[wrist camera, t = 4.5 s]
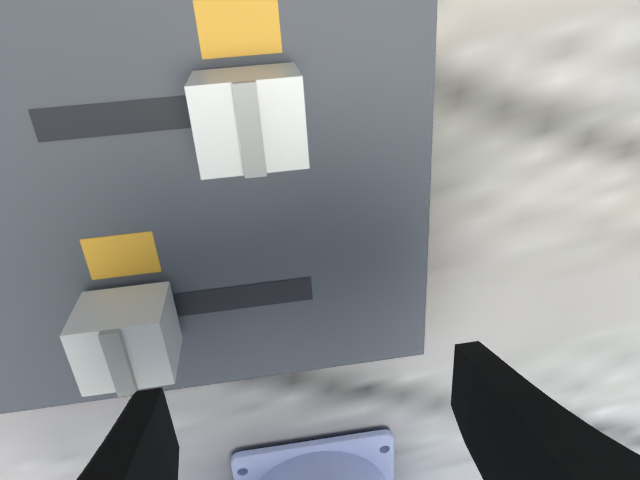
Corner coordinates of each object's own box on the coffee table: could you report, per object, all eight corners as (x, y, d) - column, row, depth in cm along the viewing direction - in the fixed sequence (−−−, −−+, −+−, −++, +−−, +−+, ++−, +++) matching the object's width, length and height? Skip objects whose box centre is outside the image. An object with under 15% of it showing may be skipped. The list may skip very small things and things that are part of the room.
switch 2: (300, 143, 17) (310, 171, 14) (206, 152, 16) (200, 183, 14) (293, 61, 15) (303, 77, 13) (192, 70, 15) (183, 88, 13)
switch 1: (182, 337, 19) (174, 389, 17) (100, 348, 19) (80, 402, 17) (169, 281, 18) (158, 327, 16) (81, 292, 18) (56, 341, 15)
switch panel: (413, 332, 23) (424, 354, 22) (-7, 390, 21) (-24, 418, 20) (431, -369, 13) (453, -410, 12) (-362, -361, 11) (-444, -407, 10)
